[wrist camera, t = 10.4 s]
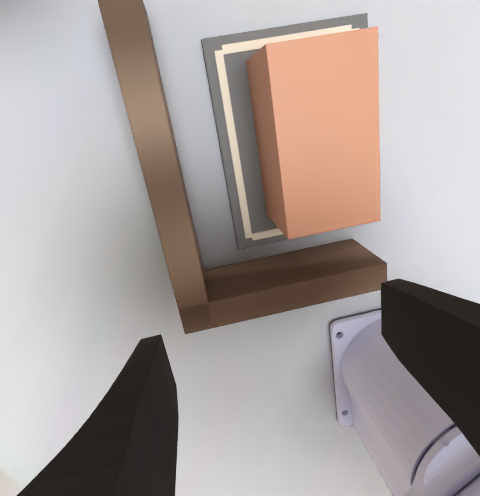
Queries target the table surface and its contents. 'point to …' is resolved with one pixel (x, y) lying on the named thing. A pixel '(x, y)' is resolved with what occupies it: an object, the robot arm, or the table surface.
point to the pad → (250, 118)
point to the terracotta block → (318, 130)
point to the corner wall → (180, 220)
